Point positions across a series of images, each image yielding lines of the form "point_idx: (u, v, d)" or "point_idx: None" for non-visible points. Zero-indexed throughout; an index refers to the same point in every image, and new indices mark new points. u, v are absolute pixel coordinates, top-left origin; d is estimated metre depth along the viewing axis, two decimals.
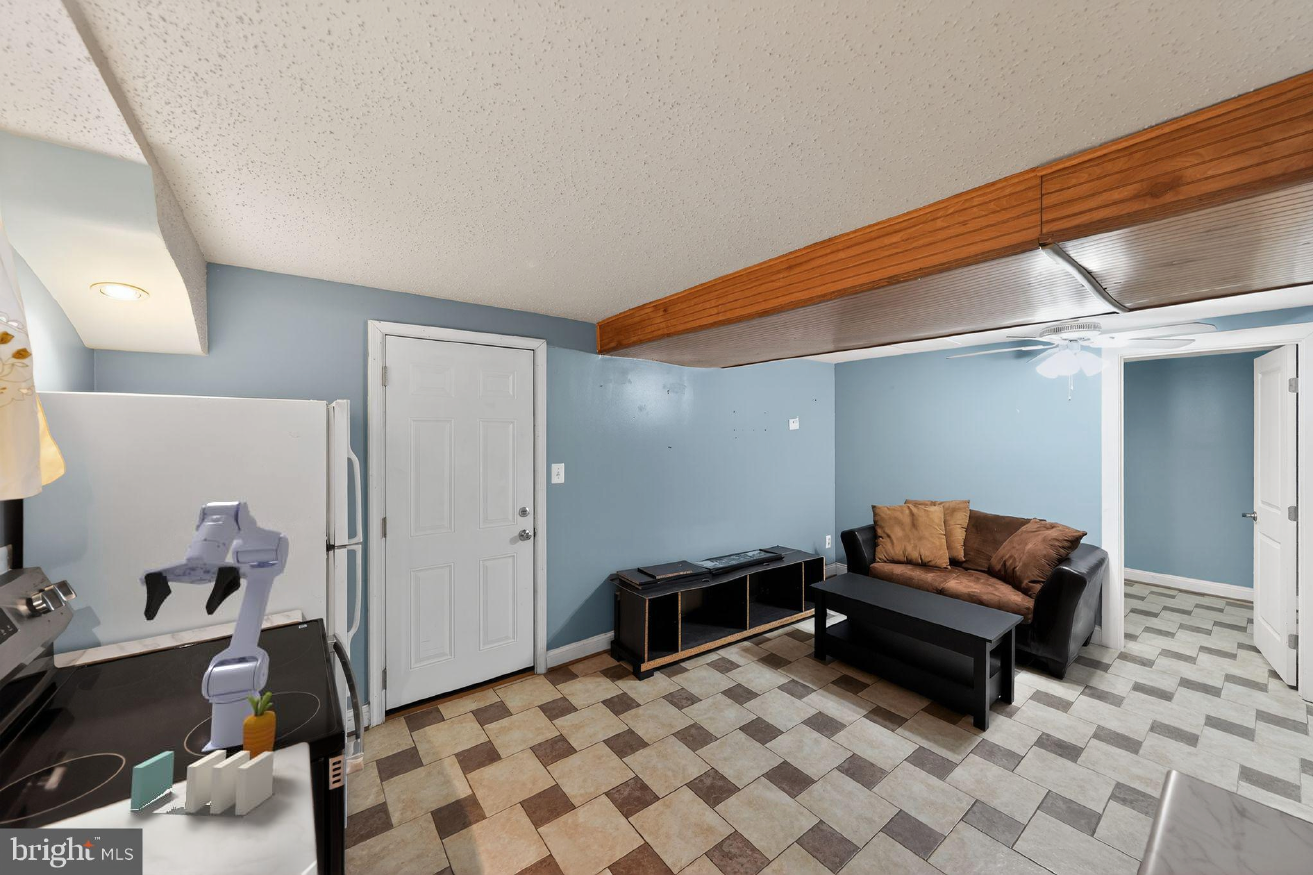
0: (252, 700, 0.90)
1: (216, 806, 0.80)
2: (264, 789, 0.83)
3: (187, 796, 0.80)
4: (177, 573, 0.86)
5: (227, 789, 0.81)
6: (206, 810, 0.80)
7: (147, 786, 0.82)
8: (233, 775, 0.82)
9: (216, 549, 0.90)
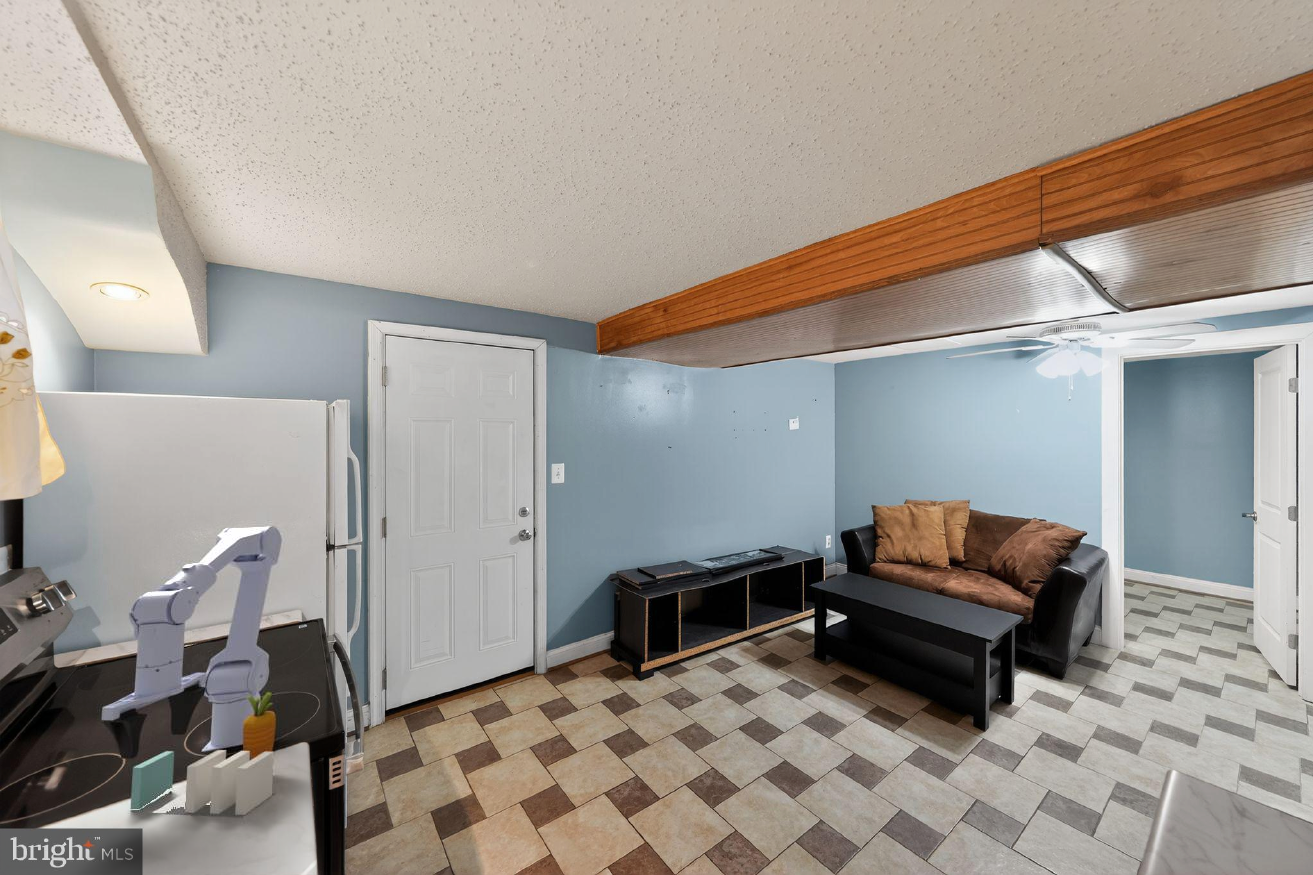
0: (252, 700, 0.90)
1: (216, 806, 0.80)
2: (264, 789, 0.83)
3: (187, 796, 0.80)
4: (145, 702, 0.82)
5: (227, 789, 0.81)
6: (206, 810, 0.80)
7: (147, 786, 0.82)
8: (233, 775, 0.82)
9: None
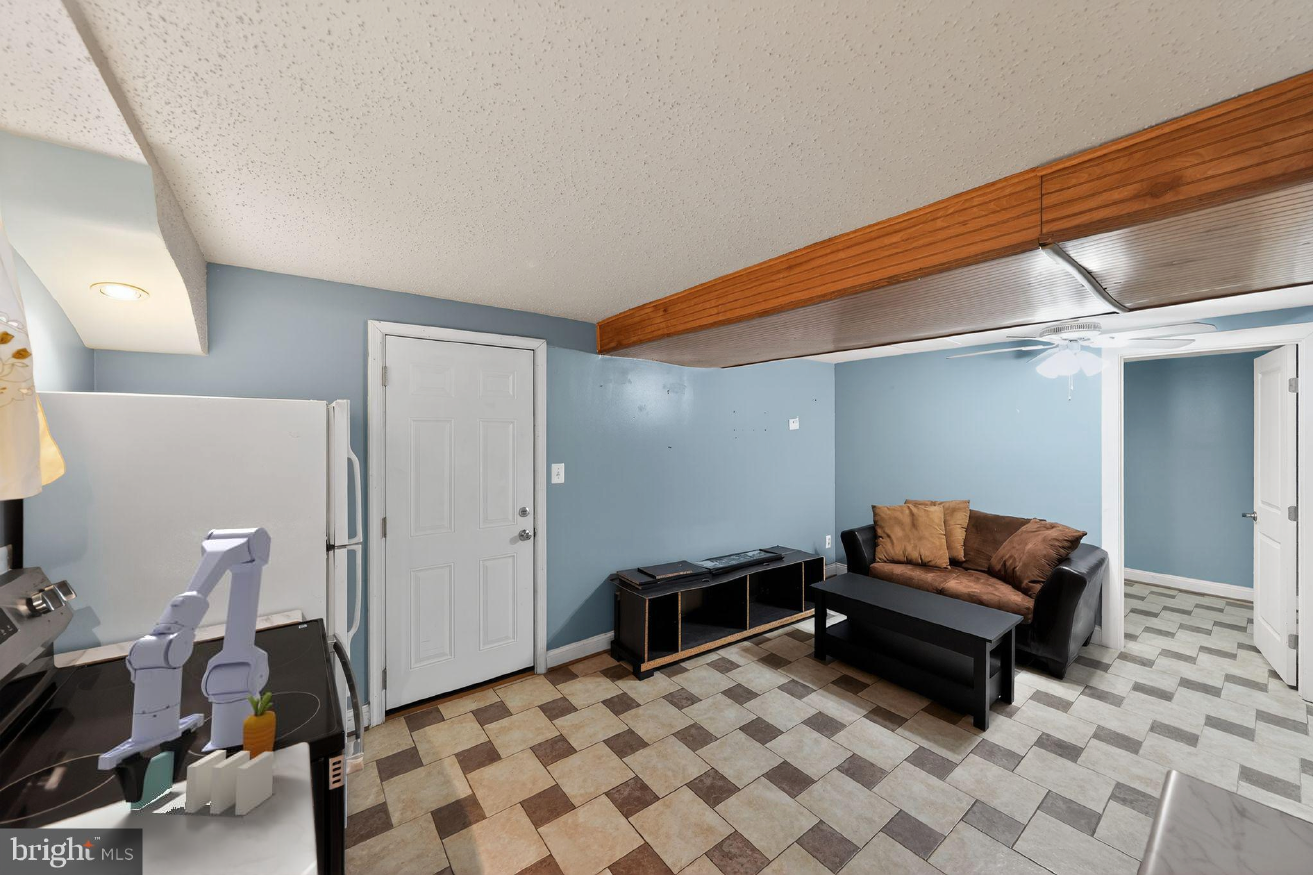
0: (252, 700, 0.90)
1: (216, 806, 0.80)
2: (264, 789, 0.83)
3: (187, 796, 0.80)
4: None
5: (227, 789, 0.81)
6: (206, 810, 0.80)
7: (147, 786, 0.82)
8: (233, 775, 0.82)
9: (179, 711, 0.86)
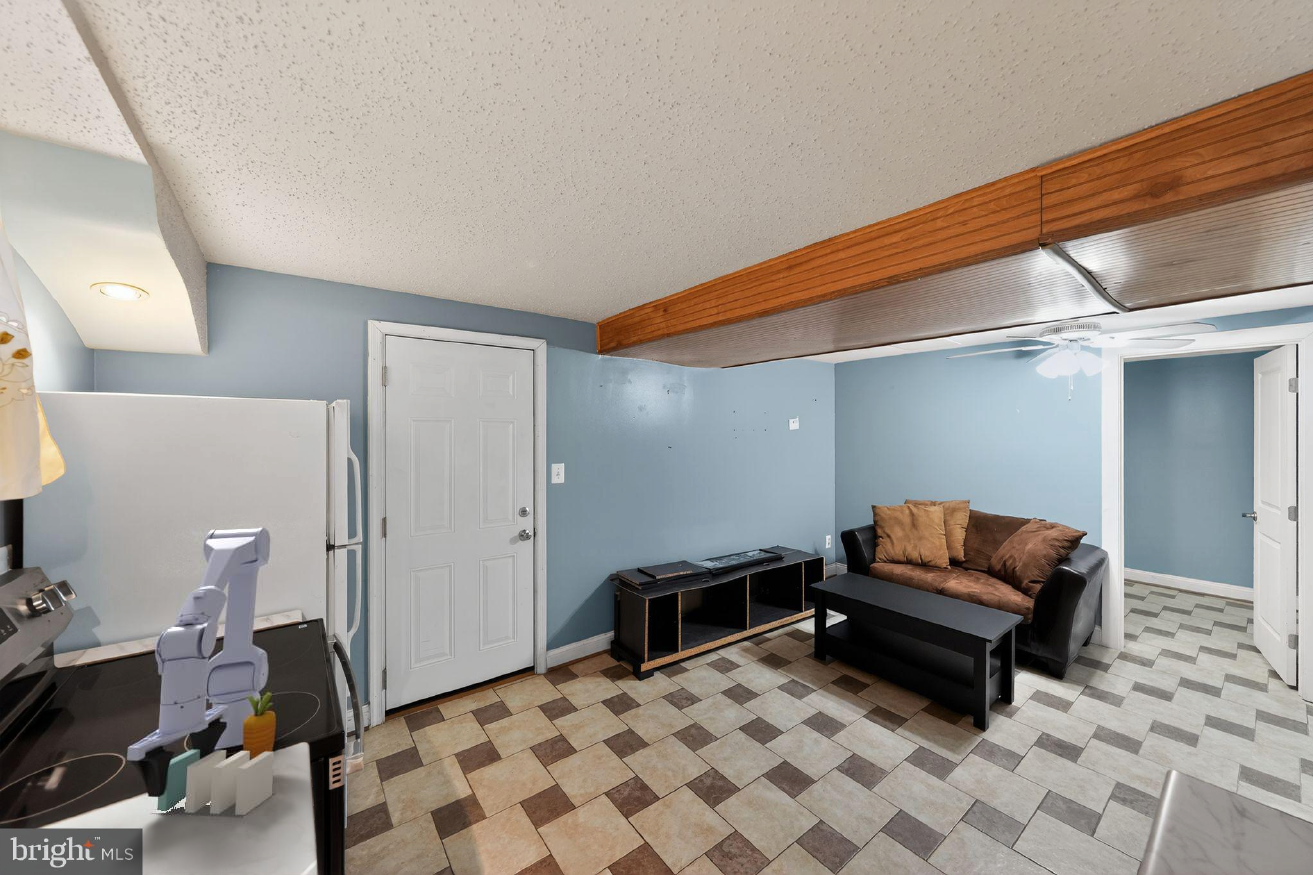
0: (252, 700, 0.90)
1: (216, 806, 0.80)
2: (264, 789, 0.83)
3: (187, 796, 0.80)
4: None
5: (227, 789, 0.81)
6: (206, 810, 0.80)
7: (174, 784, 0.82)
8: (233, 775, 0.82)
9: (205, 702, 0.86)
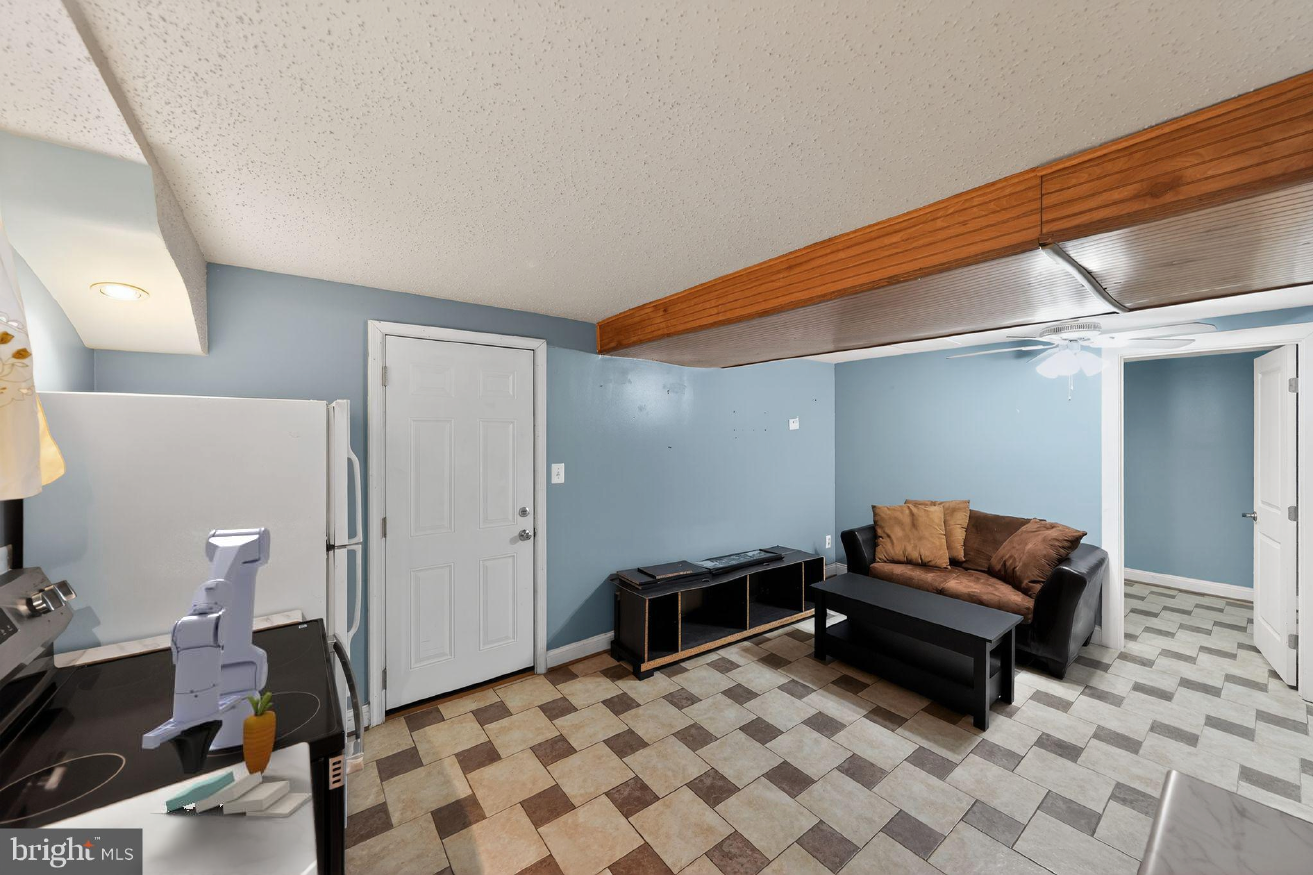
0: (252, 700, 0.90)
1: (229, 810, 0.79)
2: None
3: (207, 800, 0.80)
4: None
5: None
6: (206, 810, 0.80)
7: None
8: None
9: (219, 692, 0.86)
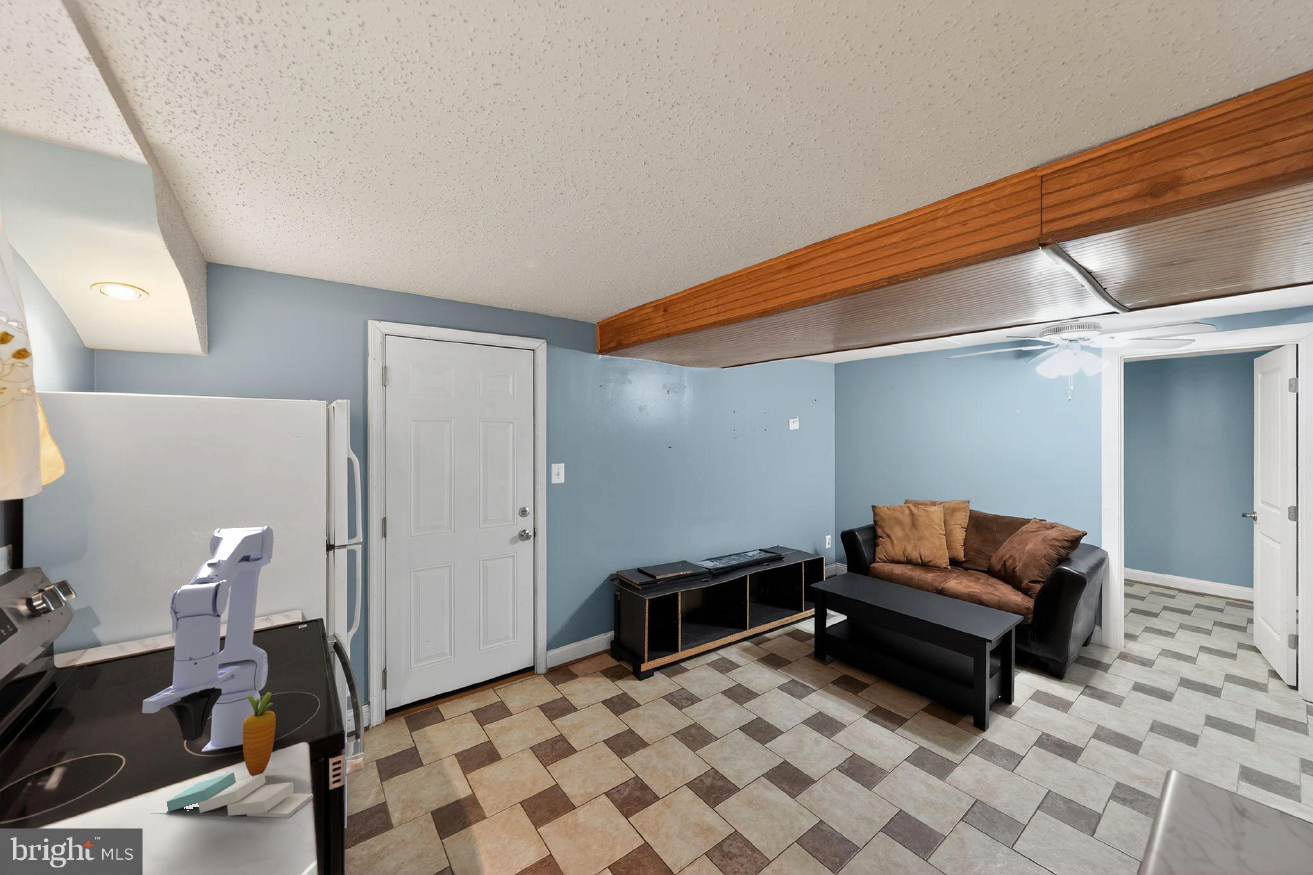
0: (252, 700, 0.90)
1: (233, 812, 0.79)
2: None
3: (211, 800, 0.80)
4: (184, 695, 0.82)
5: None
6: None
7: None
8: None
9: (218, 660, 0.87)
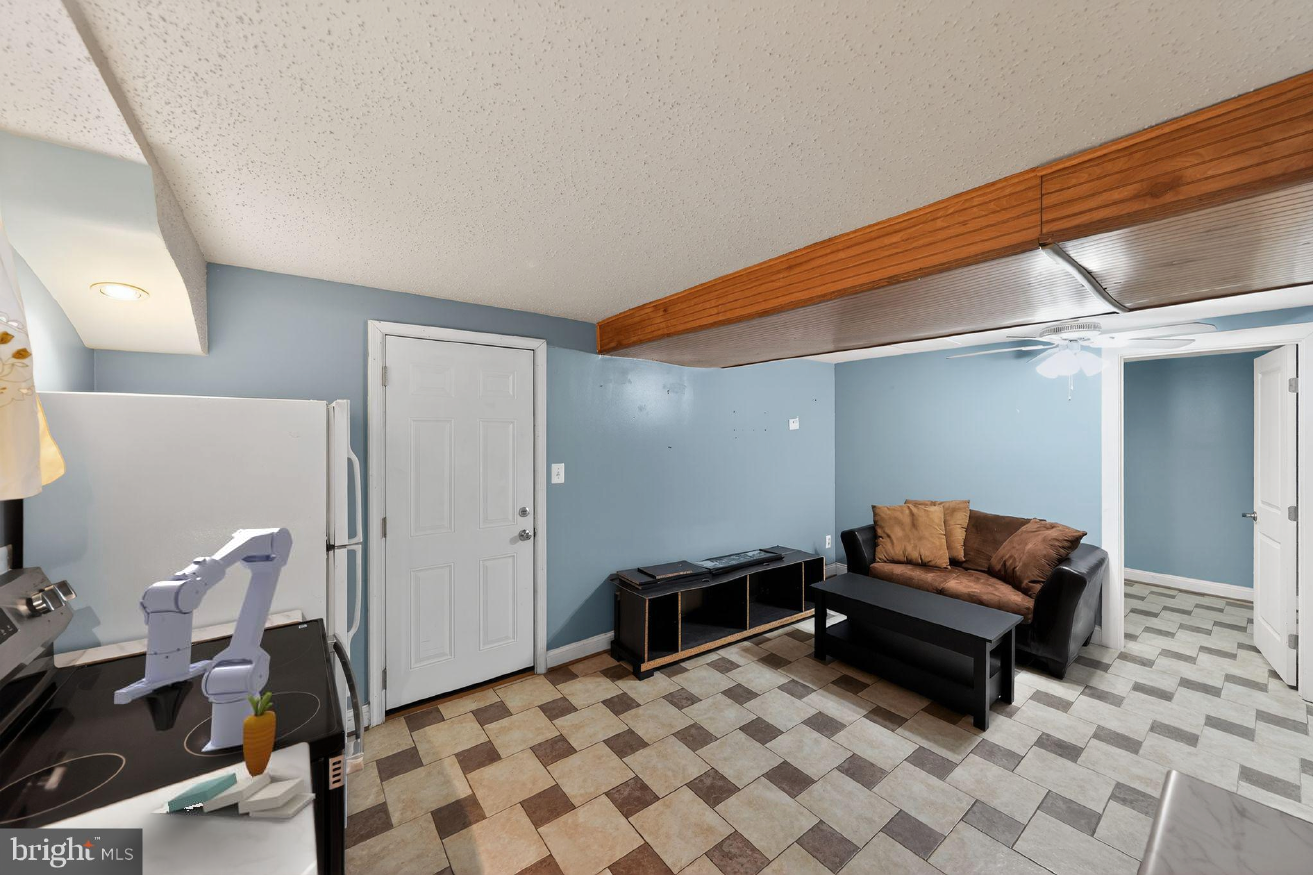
0: (252, 700, 0.90)
1: (245, 809, 0.79)
2: None
3: (216, 800, 0.80)
4: (155, 687, 0.86)
5: None
6: None
7: None
8: None
9: (190, 654, 0.90)
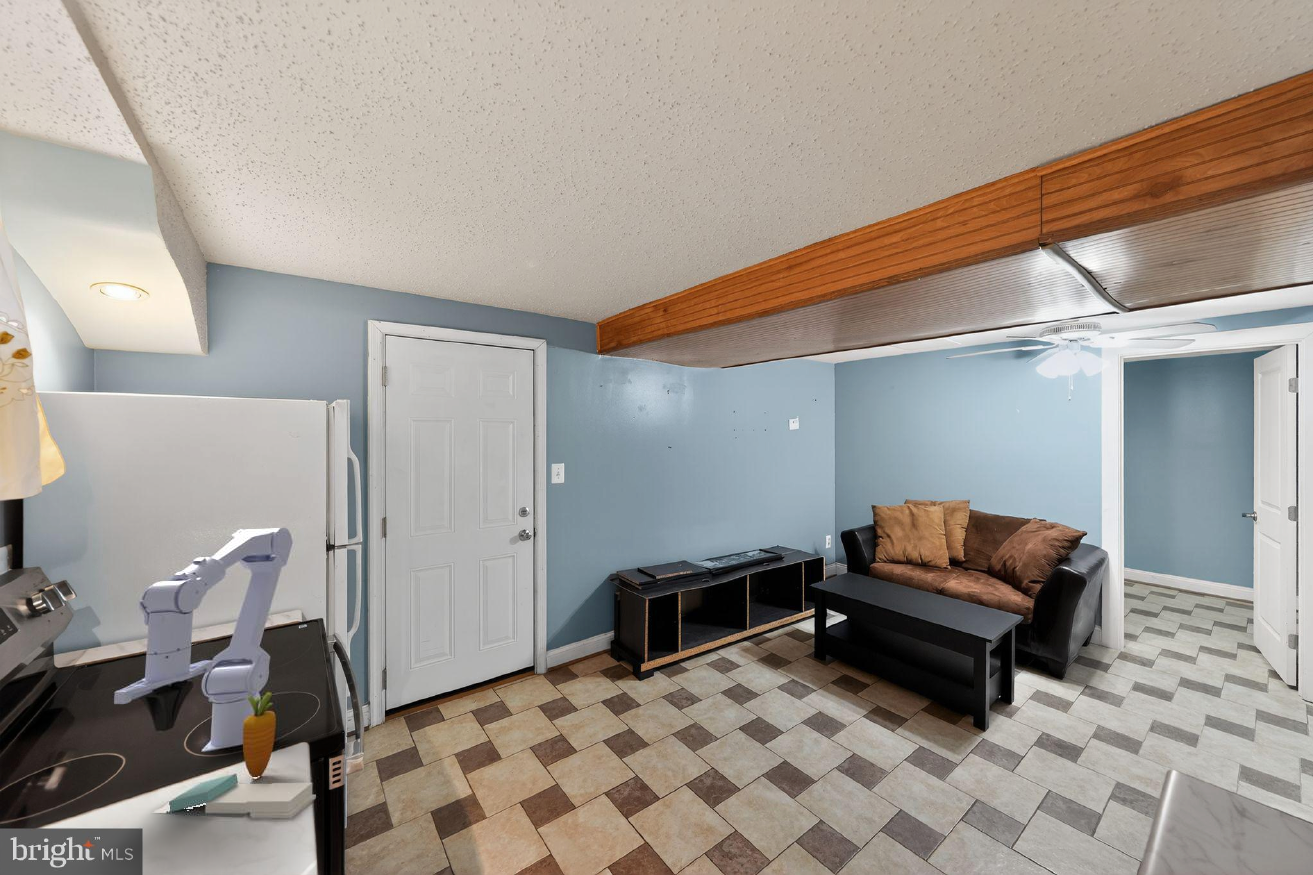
0: (252, 700, 0.90)
1: (252, 809, 0.79)
2: None
3: (219, 804, 0.80)
4: (155, 687, 0.86)
5: None
6: None
7: None
8: None
9: (190, 654, 0.90)
